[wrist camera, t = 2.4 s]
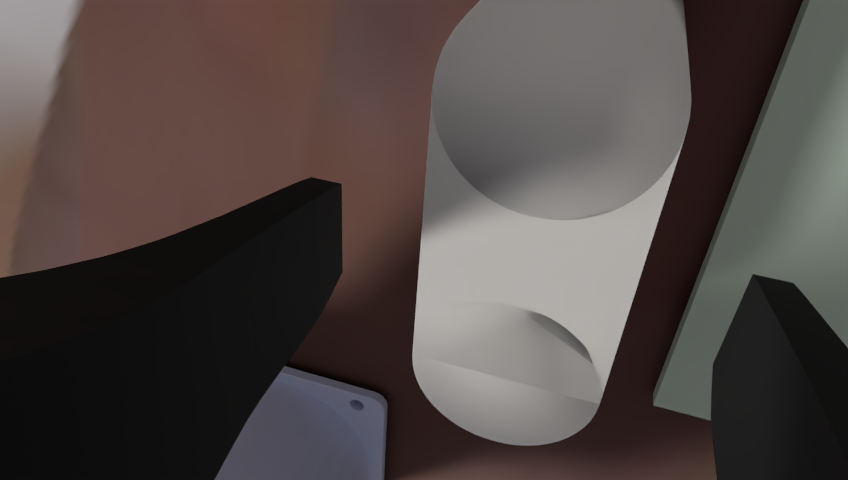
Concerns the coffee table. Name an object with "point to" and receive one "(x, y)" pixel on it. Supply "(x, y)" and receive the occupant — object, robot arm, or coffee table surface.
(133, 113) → the coffee table surface
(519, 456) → the coffee table surface
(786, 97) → the mat
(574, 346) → the connector
